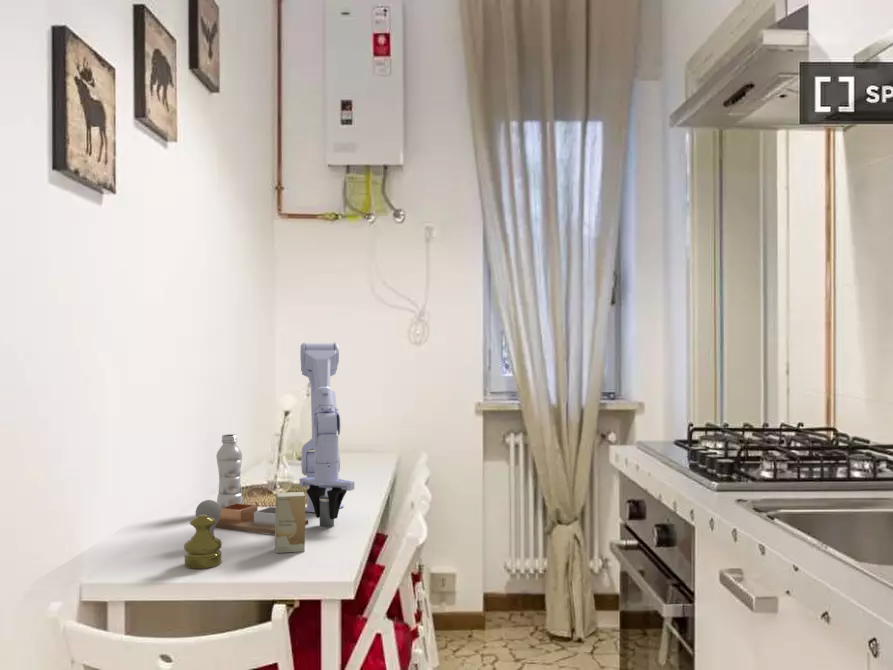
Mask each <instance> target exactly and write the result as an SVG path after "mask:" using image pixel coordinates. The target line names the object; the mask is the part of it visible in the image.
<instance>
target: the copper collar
mask: <svg viewBox="0 0 893 670" xmlns="http://www.w3.org/2000/svg"><path fill="white" fill-rule="evenodd" d="M256 511H258V505H257V504H249V503H243V504H240V503H235V504H232V505H228V506H225V507H222V508H221V517H220V519H219V521H228V522H236V523H242V522H245V521H248V520H251V519H254V512H256Z"/></svg>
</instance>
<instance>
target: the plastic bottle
mask: <svg viewBox="0 0 893 670" xmlns="http://www.w3.org/2000/svg"><path fill="white" fill-rule="evenodd" d="M237 437H238V436H237V434H231V433H229V434H222V435H221V444H222V445H221V446H220V448H218V451H217V452H216V462H217V463H216V464H217V469H218V490H217V491H218V494H217V499H216V502H217V503H218V504H219V506H220V508H222V507H225V506H228V505H232V504H235V503H240V504H244V498H243V493H242V487H241V485H242V484H241V467H242V459H243V454H242V453H243V452H242V451H241V449H240V447H239V446H238V445H237V442H238V438H237Z"/></svg>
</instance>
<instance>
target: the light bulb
mask: <svg viewBox="0 0 893 670" xmlns="http://www.w3.org/2000/svg"><path fill="white" fill-rule="evenodd" d="M199 515H207V516H209V517H212V518H214V519H215V523H214V524H213V525H212V526H211V527H210V532H211V533H212V534H213V535H214V536H215V526H216V524H217V522H218V521H219V519H220V517H221V508H220V506H219V504H218V503H217V501H216V500H212V499H206V500H203V501H202V502H200V503H199V504H198V505H197V507H196V509H195V518H196V517H198V516H199Z"/></svg>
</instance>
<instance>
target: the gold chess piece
mask: <svg viewBox="0 0 893 670" xmlns="http://www.w3.org/2000/svg"><path fill="white" fill-rule="evenodd" d="M214 523H215V519H214V518H212V517H209V516H207V515H199V516H198V517H196V516H195V517H194V518H192V519H191V520H189V524H190V525H191V526H192V527H193V528H194V529H195V533H194V535H192V536H191V537H190V539H188V540H187V541H186V542H184V545H183V549H184V551H185V552H186V553H185V554H184V555H183V557H184V567H186V568H188V569H193V570H194V569H195V570H202V569H201V568H205V569H209V567H211V568H214V566H215V567H218V566H219V565H220V564H222V560H223V559H222V556H223V555H222V554H223V552H222V551H221V550H220V549H221V548H222V544H223V542H222V541H221V539H220V538H218V537H216V536H215V534H214V535H213V534H212V533H211V532H210V527H211V526H212V525H213V524H214Z"/></svg>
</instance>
